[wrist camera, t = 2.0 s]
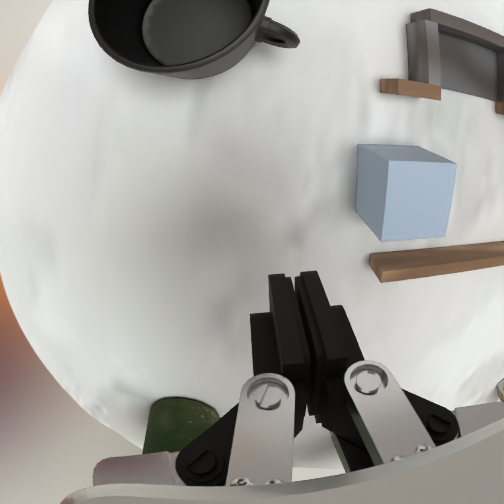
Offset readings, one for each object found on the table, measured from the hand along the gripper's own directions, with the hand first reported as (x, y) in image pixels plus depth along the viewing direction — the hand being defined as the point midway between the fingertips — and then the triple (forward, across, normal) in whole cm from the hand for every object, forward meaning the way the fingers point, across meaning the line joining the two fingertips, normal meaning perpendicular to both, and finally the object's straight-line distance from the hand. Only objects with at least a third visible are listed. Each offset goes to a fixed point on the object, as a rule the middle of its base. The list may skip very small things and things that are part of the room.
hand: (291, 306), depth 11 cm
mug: (+16, +3, -13) cm, 21 cm away
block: (+16, -11, 0) cm, 20 cm away
